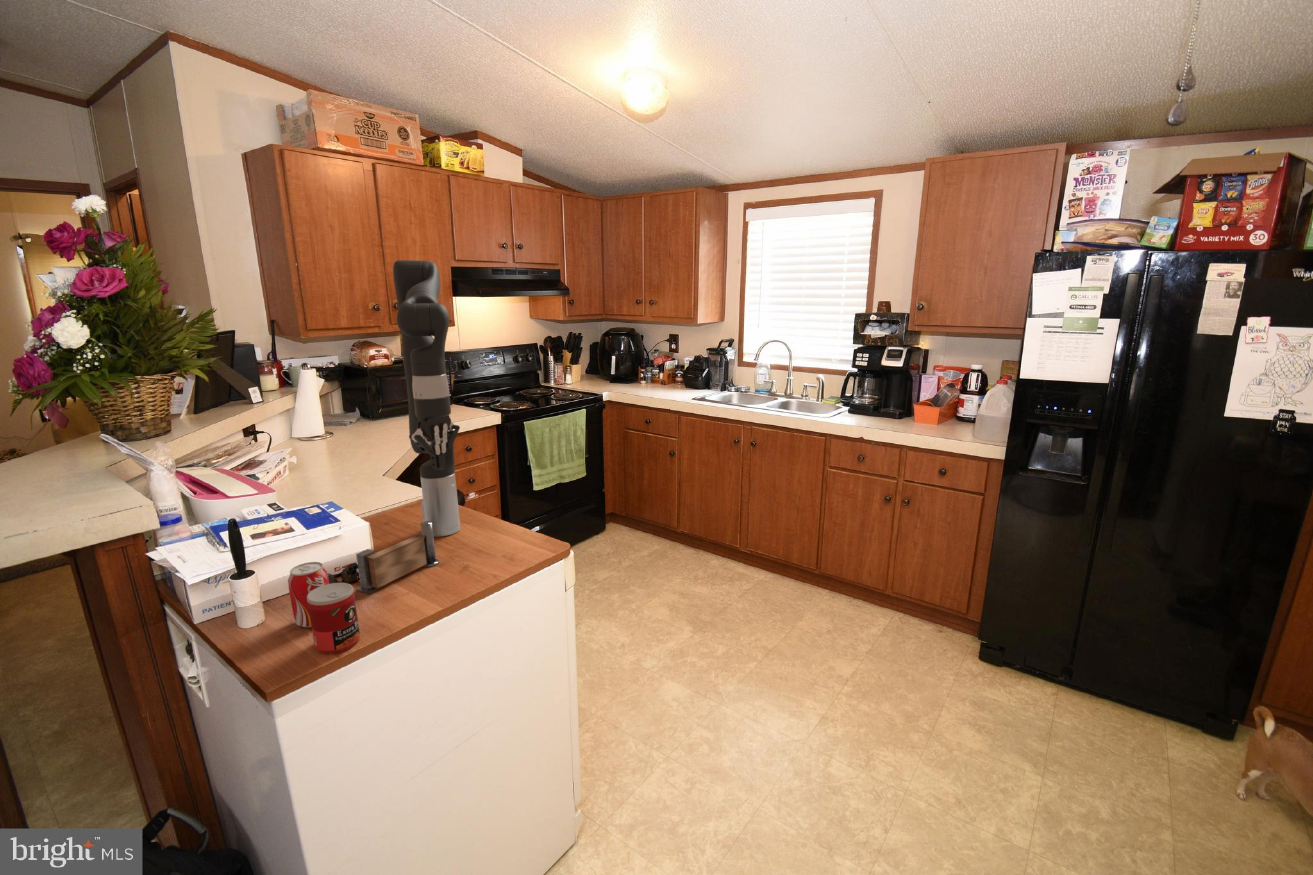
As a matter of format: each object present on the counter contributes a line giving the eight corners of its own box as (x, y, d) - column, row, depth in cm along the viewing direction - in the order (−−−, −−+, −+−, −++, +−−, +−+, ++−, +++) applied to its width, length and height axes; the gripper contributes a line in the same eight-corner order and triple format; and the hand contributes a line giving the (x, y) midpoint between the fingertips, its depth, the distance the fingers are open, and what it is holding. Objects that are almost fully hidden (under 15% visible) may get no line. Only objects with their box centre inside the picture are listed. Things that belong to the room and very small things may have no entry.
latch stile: (356, 590, 130) (351, 554, 128) (373, 582, 134) (368, 547, 132) (367, 594, 128) (362, 557, 126) (384, 585, 132) (379, 550, 130)
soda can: (306, 634, 113) (297, 579, 110) (288, 624, 117) (278, 570, 114) (341, 617, 119) (333, 565, 116) (323, 608, 122) (315, 557, 120)
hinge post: (418, 565, 143) (414, 524, 140) (431, 558, 146) (427, 518, 144) (430, 568, 141) (425, 526, 139) (442, 561, 144) (438, 521, 142)
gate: (421, 561, 142) (418, 534, 141) (427, 563, 141) (424, 535, 140) (370, 586, 130) (366, 556, 128) (377, 588, 129) (373, 558, 127)
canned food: (341, 657, 105) (333, 603, 103) (304, 652, 107) (295, 599, 104) (369, 634, 113) (362, 584, 110) (334, 630, 114) (327, 580, 112)
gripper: (418, 400, 119) (427, 479, 123) (466, 391, 131) (472, 464, 135) (394, 398, 123) (403, 474, 126) (442, 390, 134) (449, 460, 138)
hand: (439, 469), depth 130 cm, fingers closed
